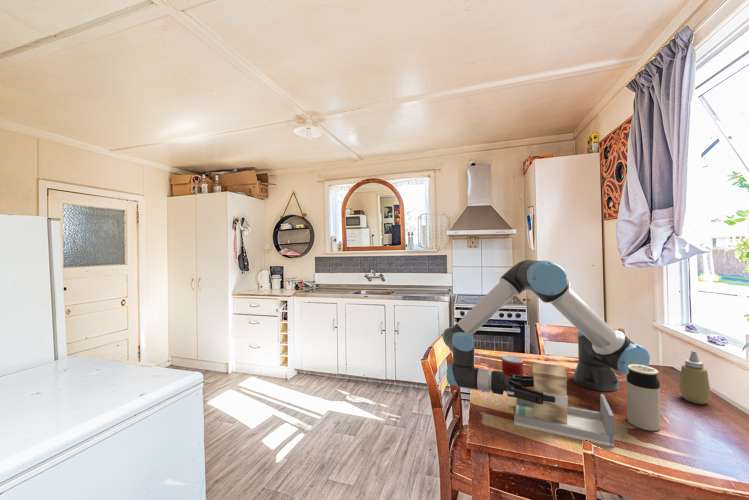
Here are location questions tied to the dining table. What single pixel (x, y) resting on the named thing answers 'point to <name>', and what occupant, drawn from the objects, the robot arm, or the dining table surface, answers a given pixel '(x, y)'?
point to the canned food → (512, 365)
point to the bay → (572, 422)
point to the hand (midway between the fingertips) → (565, 393)
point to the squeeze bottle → (694, 381)
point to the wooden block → (550, 391)
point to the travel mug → (643, 397)
